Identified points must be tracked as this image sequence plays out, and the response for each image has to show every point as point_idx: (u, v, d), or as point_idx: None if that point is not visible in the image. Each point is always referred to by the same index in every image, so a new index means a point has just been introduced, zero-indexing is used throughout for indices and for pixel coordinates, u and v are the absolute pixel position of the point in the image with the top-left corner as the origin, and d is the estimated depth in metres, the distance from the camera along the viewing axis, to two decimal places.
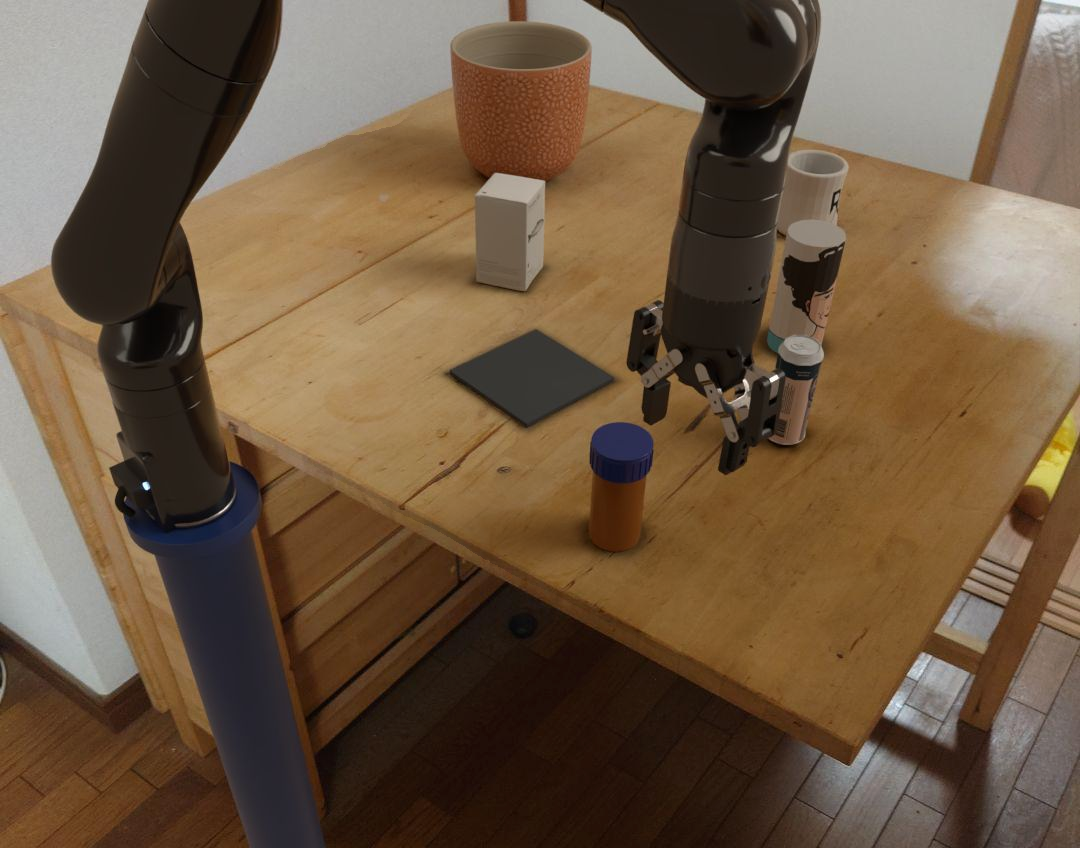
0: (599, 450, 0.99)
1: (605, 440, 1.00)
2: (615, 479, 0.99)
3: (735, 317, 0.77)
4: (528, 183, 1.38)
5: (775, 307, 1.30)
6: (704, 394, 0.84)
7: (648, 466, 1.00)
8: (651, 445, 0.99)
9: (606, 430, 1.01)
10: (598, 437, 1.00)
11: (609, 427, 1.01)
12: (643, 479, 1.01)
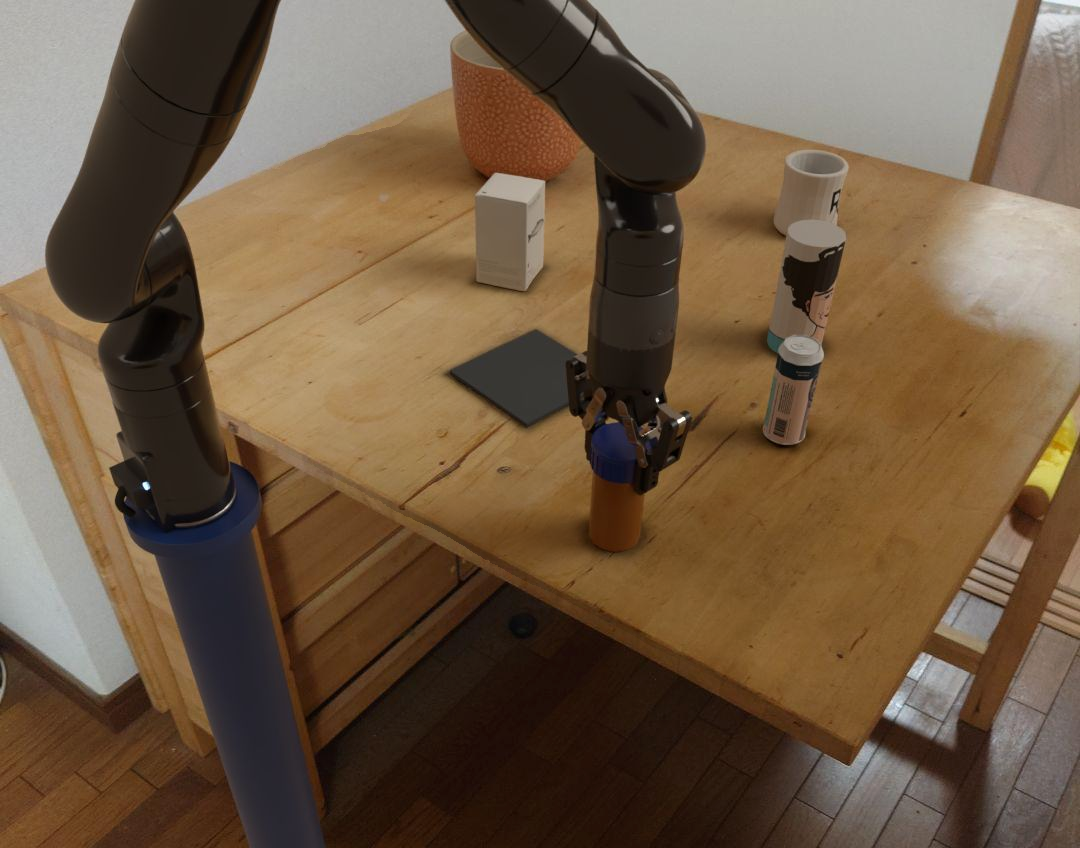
0: (599, 450, 0.99)
1: (605, 440, 1.00)
2: (615, 479, 0.99)
3: None
4: (528, 183, 1.38)
5: (775, 307, 1.30)
6: None
7: None
8: None
9: (606, 430, 1.01)
10: (598, 437, 1.00)
11: (609, 427, 1.01)
12: None
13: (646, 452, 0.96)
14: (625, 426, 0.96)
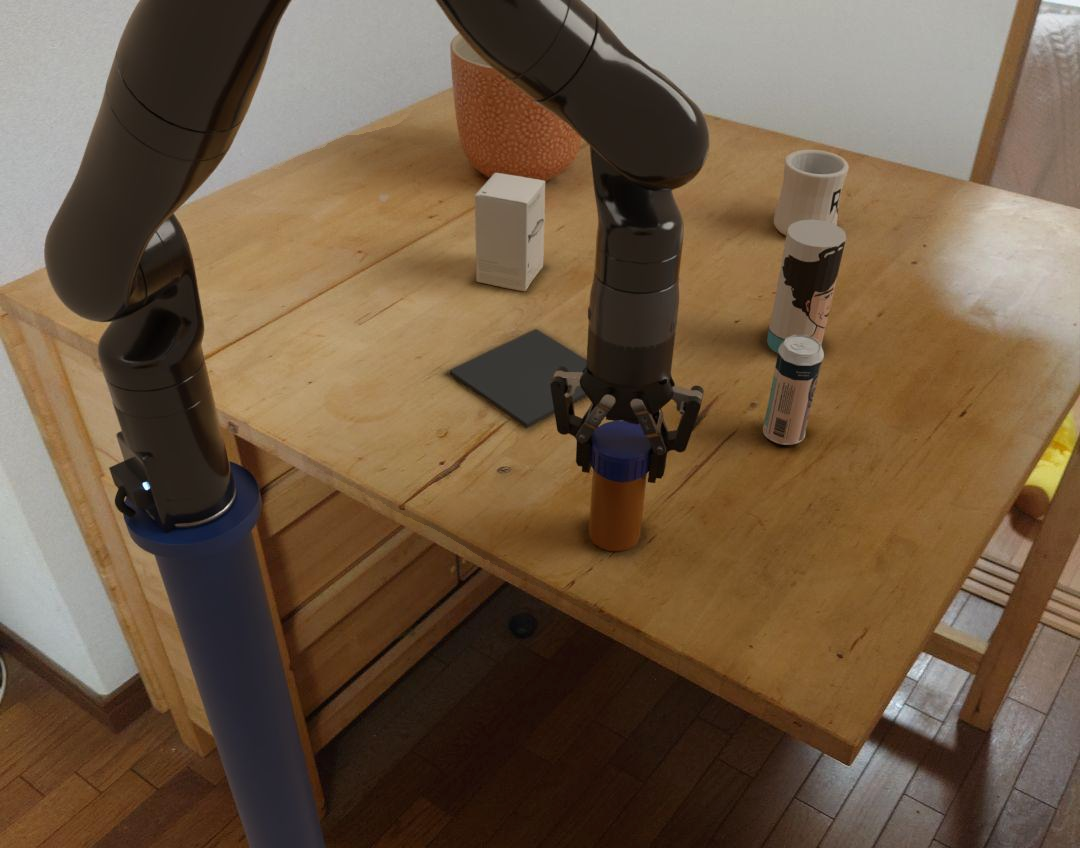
0: (613, 455, 0.98)
1: (609, 444, 0.99)
2: (634, 477, 0.99)
3: None
4: (528, 183, 1.38)
5: (775, 307, 1.30)
6: None
7: None
8: None
9: (600, 436, 1.00)
10: (600, 444, 0.99)
11: (600, 432, 1.00)
12: (643, 478, 1.01)
13: (663, 439, 0.98)
14: (640, 422, 0.96)
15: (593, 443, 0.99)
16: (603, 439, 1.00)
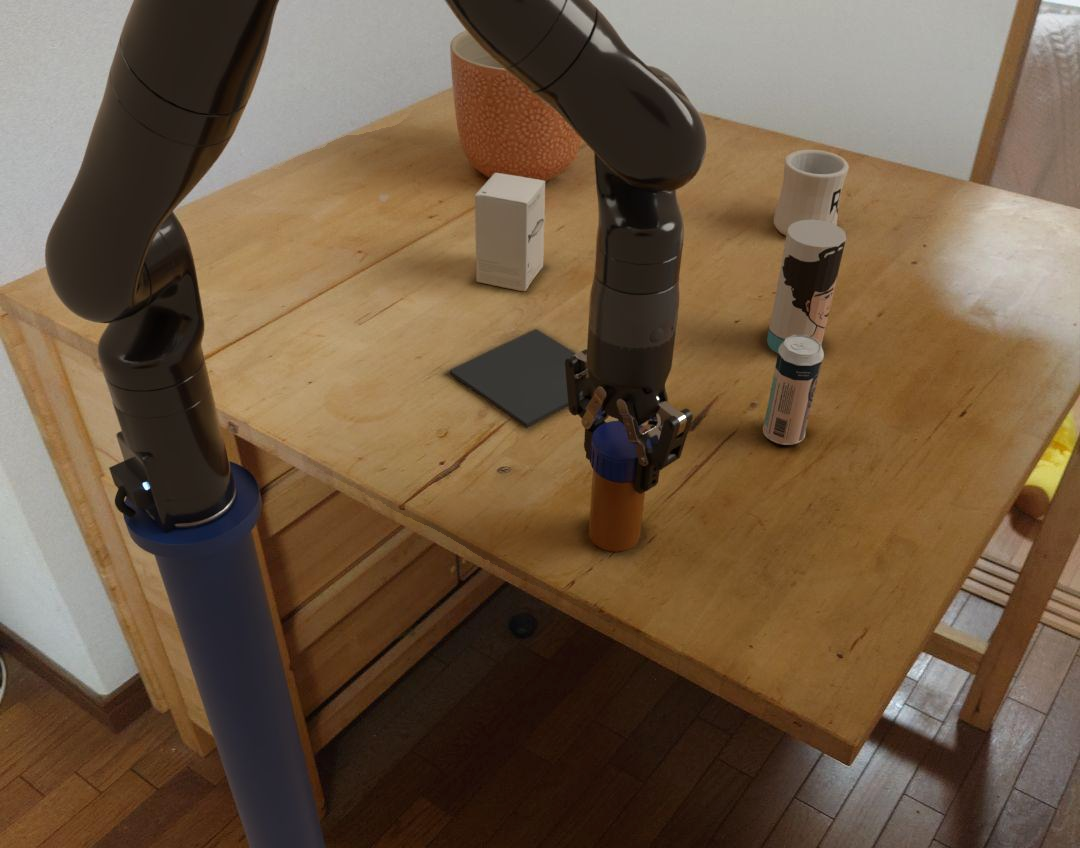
0: (633, 456, 0.98)
1: (619, 449, 0.98)
2: None
3: None
4: (528, 183, 1.38)
5: (775, 307, 1.30)
6: None
7: None
8: None
9: (603, 445, 0.99)
10: (613, 452, 0.98)
11: (599, 442, 0.99)
12: None
13: (647, 450, 0.96)
14: (625, 424, 0.95)
15: (606, 454, 0.98)
16: (609, 447, 0.99)
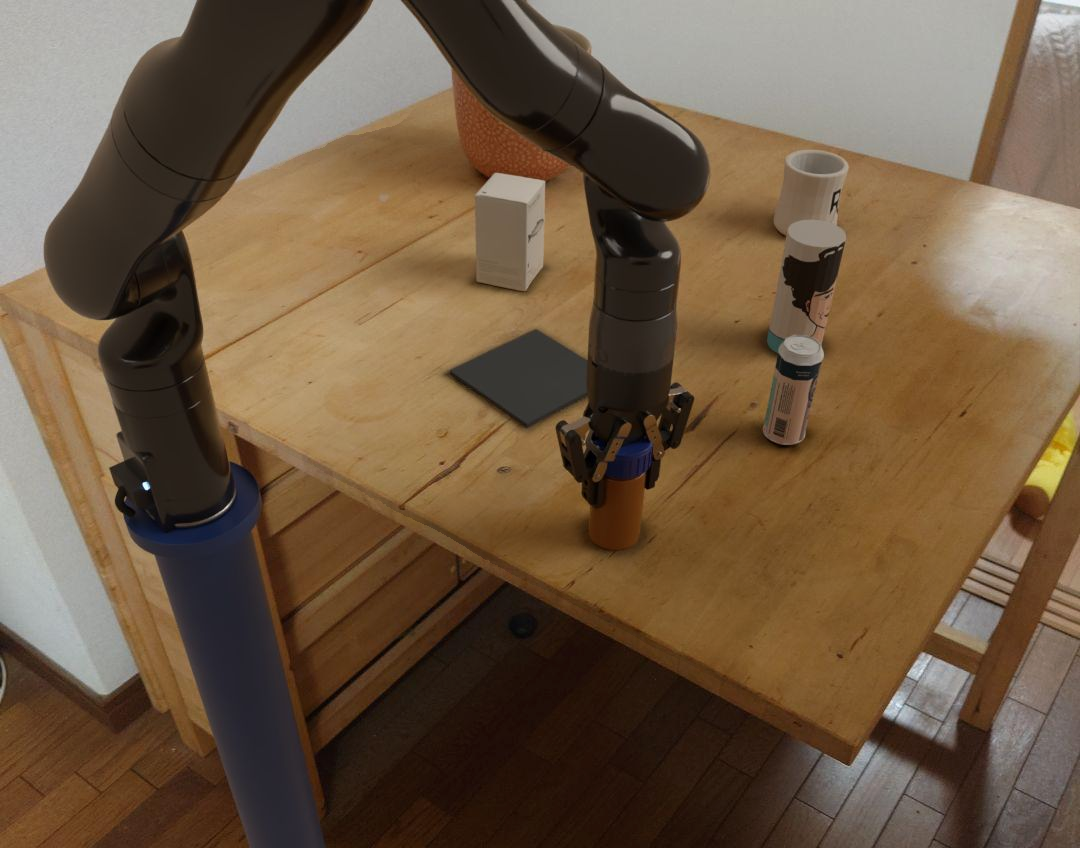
0: None
1: (637, 442, 0.99)
2: None
3: (587, 362, 0.94)
4: (528, 183, 1.38)
5: (775, 307, 1.30)
6: None
7: None
8: None
9: (627, 449, 0.98)
10: (640, 447, 0.98)
11: (621, 451, 0.98)
12: (643, 477, 1.01)
13: None
14: (649, 435, 0.98)
15: (641, 452, 0.98)
16: (631, 447, 0.98)
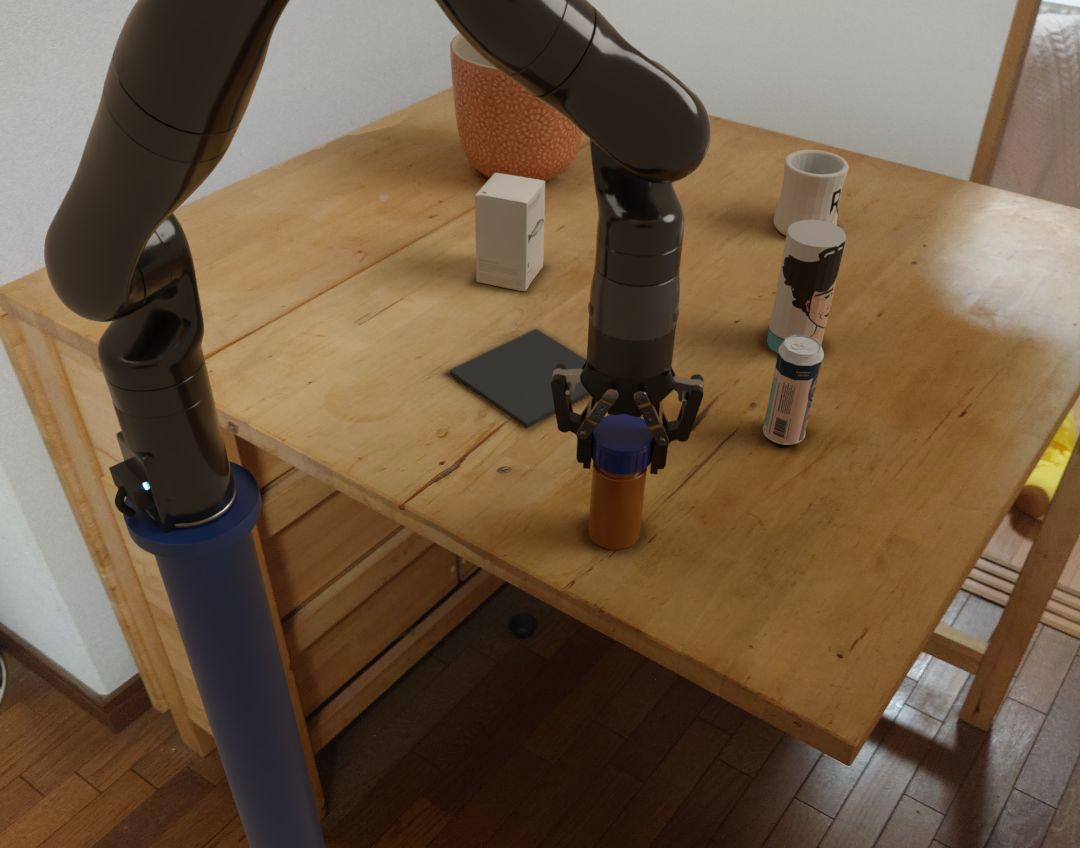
0: (644, 421, 1.01)
1: (640, 431, 1.00)
2: None
3: None
4: (528, 183, 1.38)
5: (775, 307, 1.30)
6: None
7: None
8: (594, 428, 1.00)
9: (641, 441, 0.99)
10: (647, 433, 1.00)
11: (638, 444, 0.98)
12: (643, 477, 1.01)
13: (665, 429, 0.98)
14: (643, 414, 0.96)
15: (653, 437, 0.99)
16: (641, 437, 0.99)
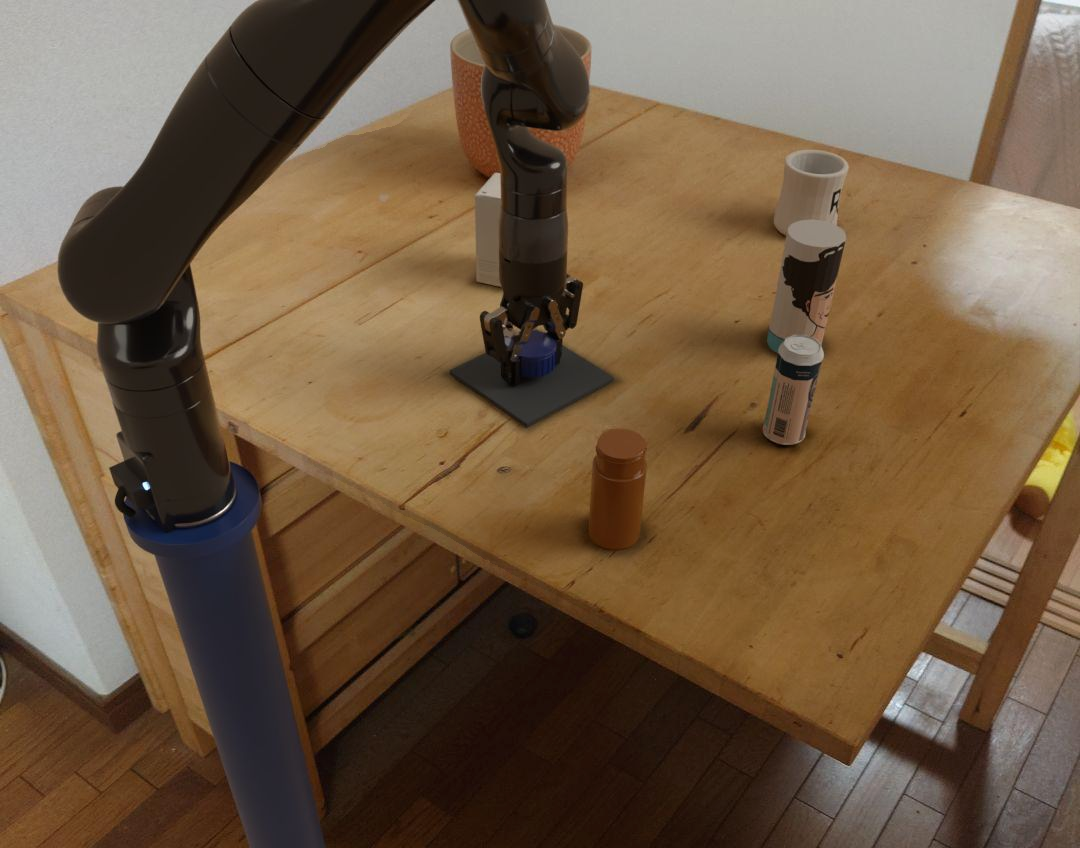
0: (532, 331, 1.27)
1: (539, 337, 1.26)
2: None
3: (499, 261, 1.16)
4: None
5: (775, 307, 1.30)
6: None
7: None
8: None
9: (549, 342, 1.25)
10: (545, 336, 1.26)
11: (551, 345, 1.24)
12: (643, 477, 1.01)
13: None
14: (553, 318, 1.22)
15: (551, 337, 1.26)
16: (545, 340, 1.25)
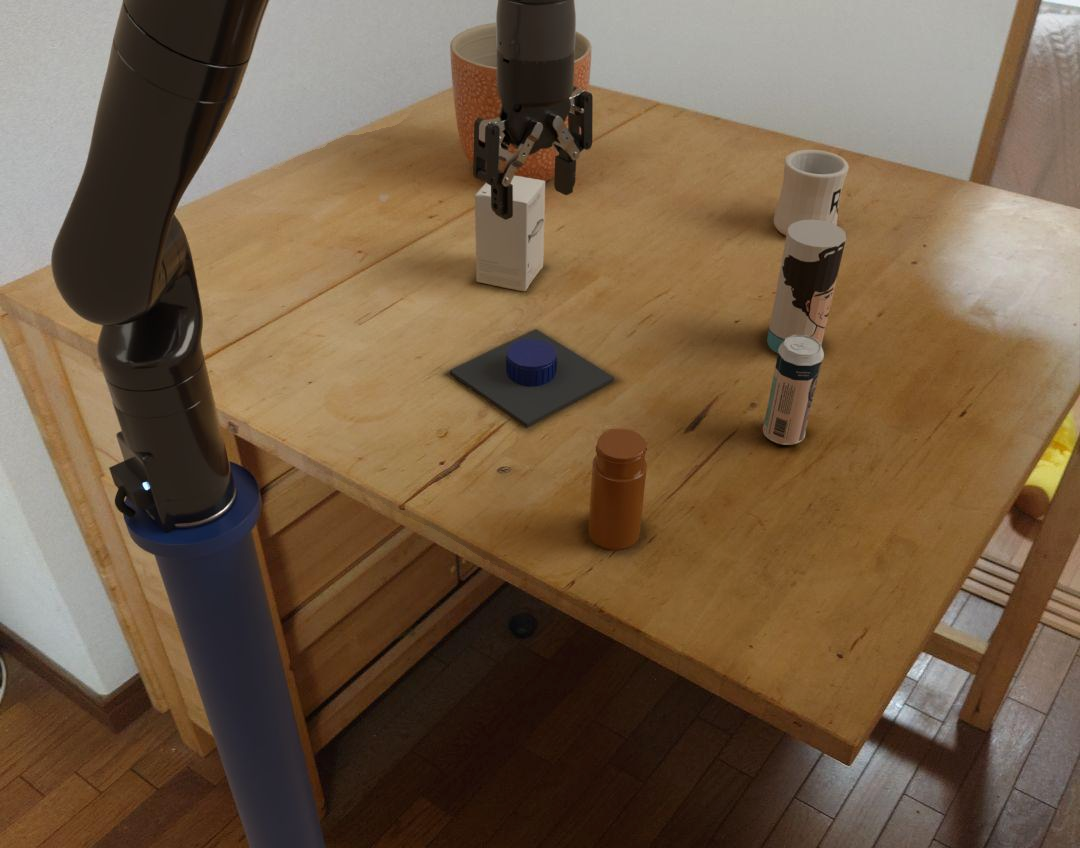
0: (532, 340, 1.28)
1: (539, 346, 1.27)
2: None
3: (497, 64, 1.02)
4: (528, 183, 1.38)
5: (775, 307, 1.30)
6: None
7: (508, 370, 1.26)
8: (513, 360, 1.24)
9: (549, 351, 1.26)
10: (545, 345, 1.27)
11: (551, 354, 1.25)
12: (643, 477, 1.01)
13: (575, 143, 1.11)
14: (561, 137, 1.08)
15: (551, 345, 1.27)
16: (545, 349, 1.26)
